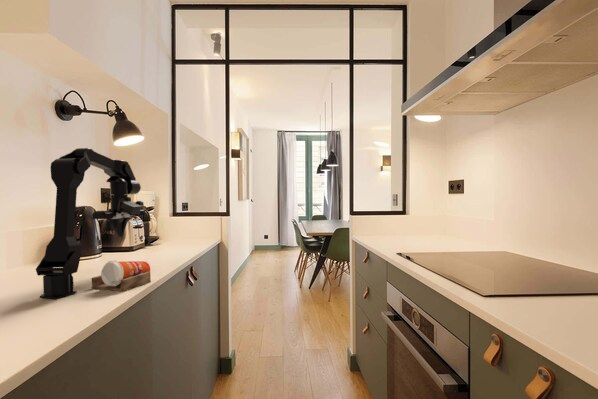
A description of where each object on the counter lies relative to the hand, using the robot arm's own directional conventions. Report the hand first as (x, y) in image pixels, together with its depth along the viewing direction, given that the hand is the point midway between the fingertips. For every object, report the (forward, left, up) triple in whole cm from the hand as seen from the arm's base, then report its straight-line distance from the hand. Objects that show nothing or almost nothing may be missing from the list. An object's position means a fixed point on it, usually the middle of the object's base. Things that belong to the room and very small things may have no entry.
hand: (120, 236), depth 130 cm
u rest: (-16, -16, -13) cm, 26 cm away
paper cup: (-8, -17, -10) cm, 21 cm away
